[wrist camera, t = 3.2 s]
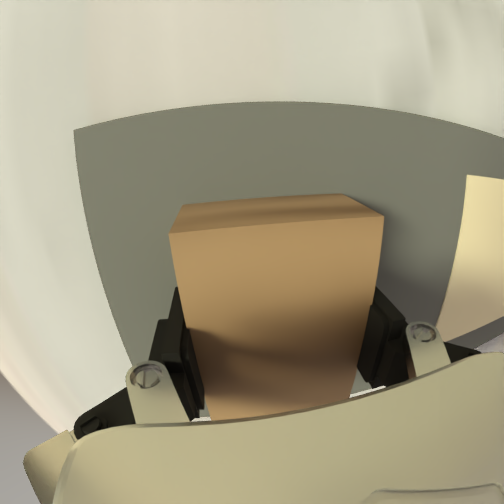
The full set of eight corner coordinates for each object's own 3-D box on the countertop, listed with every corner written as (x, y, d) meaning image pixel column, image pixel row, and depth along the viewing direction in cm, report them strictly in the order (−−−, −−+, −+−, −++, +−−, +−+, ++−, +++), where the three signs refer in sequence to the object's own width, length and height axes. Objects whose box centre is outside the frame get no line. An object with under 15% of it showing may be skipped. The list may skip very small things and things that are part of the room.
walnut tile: (182, 205, 10) (168, 233, 7) (341, 193, 10) (383, 216, 8) (212, 379, 14) (214, 430, 11) (325, 364, 14) (345, 409, 11)
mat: (80, 130, 9) (72, 130, 8) (550, 158, 12) (556, 160, 11) (158, 410, 15) (157, 418, 14) (513, 321, 18) (517, 325, 17)
